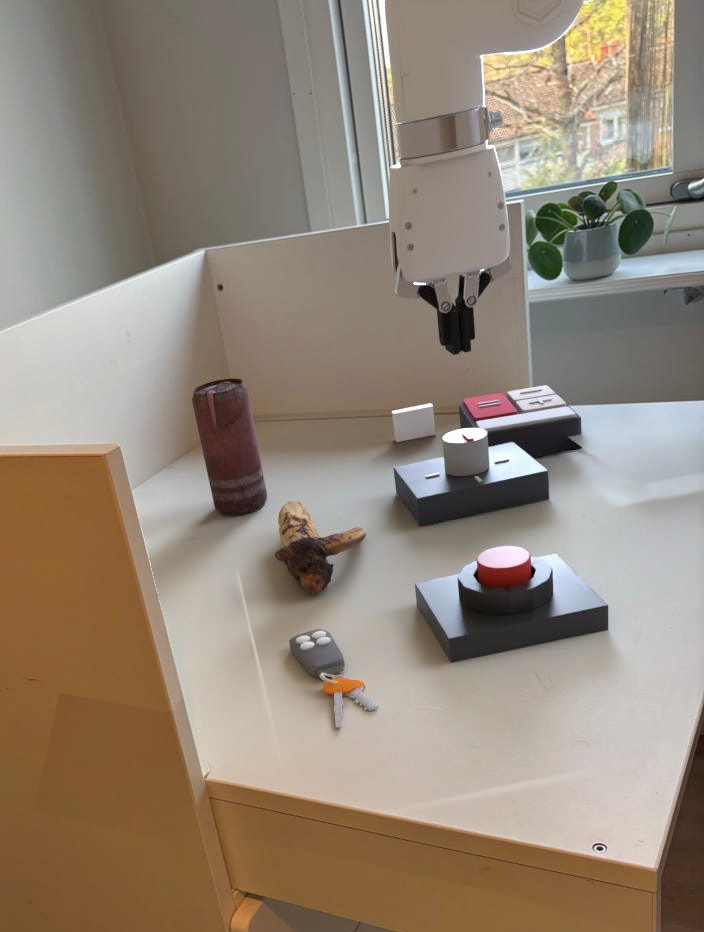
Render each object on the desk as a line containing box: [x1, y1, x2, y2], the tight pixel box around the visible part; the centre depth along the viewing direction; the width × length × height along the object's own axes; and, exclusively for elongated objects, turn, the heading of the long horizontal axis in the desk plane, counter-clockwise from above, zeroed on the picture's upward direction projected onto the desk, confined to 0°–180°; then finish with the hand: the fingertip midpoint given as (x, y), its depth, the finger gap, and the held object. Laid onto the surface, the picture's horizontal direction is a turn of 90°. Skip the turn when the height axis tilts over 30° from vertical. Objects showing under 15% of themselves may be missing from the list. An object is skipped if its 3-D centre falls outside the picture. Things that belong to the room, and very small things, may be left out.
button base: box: [414, 552, 609, 664], centre depth 75 cm, size 12×10×4 cm
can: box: [191, 377, 268, 517], centre depth 106 cm, size 6×6×14 cm
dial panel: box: [392, 442, 550, 527], centre depth 98 cm, size 13×10×3 cm
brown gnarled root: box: [274, 500, 367, 594], centre depth 92 cm, size 9×5×18 cm
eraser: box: [391, 402, 437, 443], centre depth 118 cm, size 1×5×4 cm, turn 91°
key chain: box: [288, 628, 379, 729], centre depth 73 cm, size 13×4×2 cm, turn 13°
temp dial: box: [441, 428, 489, 476], centre depth 97 cm, size 4×4×4 cm
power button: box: [476, 545, 532, 587], centre depth 74 cm, size 4×4×2 cm
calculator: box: [458, 384, 583, 458], centre depth 110 cm, size 11×4×15 cm
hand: (458, 350), depth 92 cm, fingers closed
